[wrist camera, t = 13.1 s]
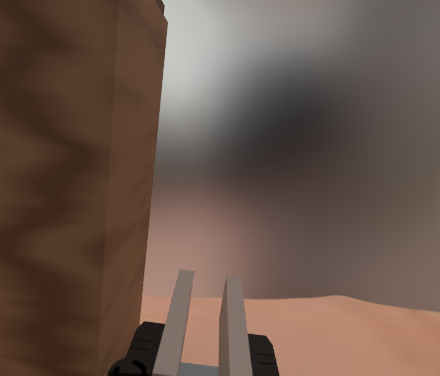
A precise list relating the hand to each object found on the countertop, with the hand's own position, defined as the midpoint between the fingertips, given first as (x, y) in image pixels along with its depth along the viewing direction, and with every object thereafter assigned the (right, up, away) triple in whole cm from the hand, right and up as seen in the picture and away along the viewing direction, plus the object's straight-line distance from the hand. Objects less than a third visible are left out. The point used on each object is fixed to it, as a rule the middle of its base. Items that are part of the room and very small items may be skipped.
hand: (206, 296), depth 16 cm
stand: (-12, -10, +10) cm, 19 cm away
